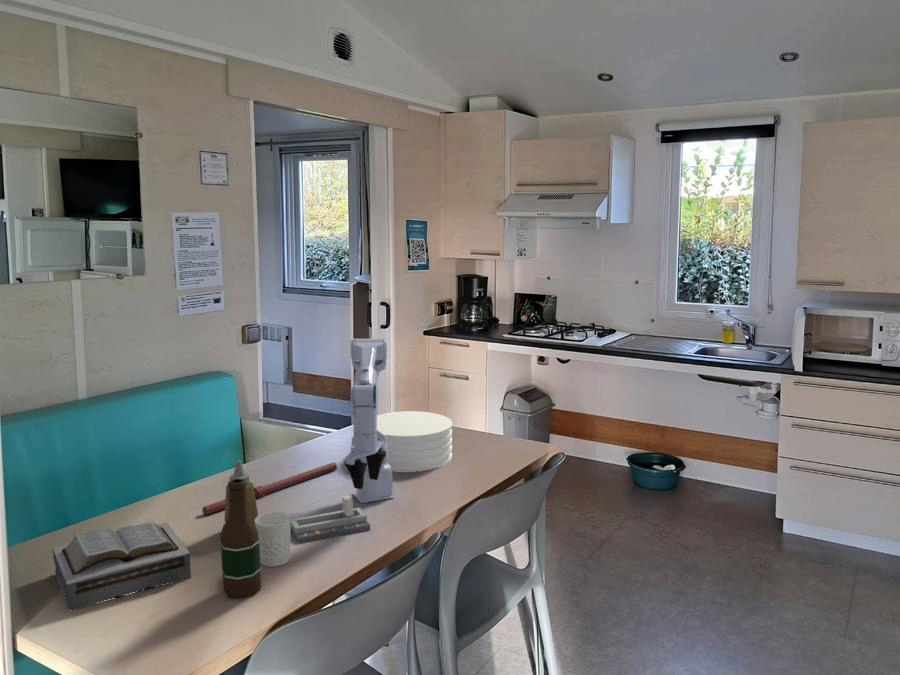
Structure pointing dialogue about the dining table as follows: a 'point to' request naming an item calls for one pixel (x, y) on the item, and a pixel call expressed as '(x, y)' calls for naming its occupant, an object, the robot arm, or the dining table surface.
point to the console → (328, 525)
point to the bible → (119, 562)
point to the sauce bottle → (240, 547)
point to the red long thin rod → (275, 486)
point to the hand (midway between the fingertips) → (366, 483)
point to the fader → (347, 507)
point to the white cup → (274, 538)
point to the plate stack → (416, 440)
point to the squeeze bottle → (249, 490)
